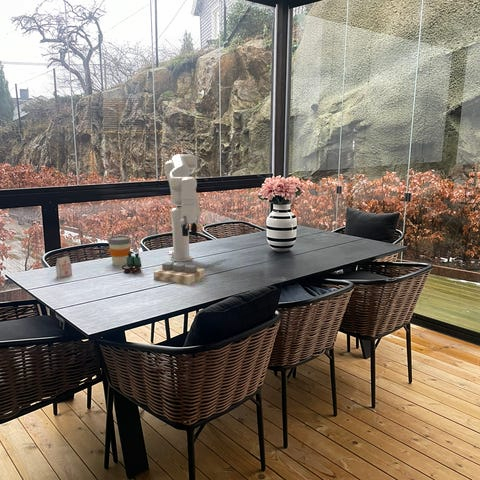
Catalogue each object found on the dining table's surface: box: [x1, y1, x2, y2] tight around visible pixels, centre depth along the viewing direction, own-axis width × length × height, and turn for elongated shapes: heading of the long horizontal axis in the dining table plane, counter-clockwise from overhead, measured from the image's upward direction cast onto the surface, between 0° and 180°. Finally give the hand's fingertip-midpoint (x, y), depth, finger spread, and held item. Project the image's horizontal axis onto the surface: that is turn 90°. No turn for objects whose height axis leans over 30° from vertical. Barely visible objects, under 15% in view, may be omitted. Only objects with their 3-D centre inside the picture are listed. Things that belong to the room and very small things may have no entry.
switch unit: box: [153, 267, 206, 285], centre depth 252 cm, size 21×16×4 cm
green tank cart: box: [121, 251, 143, 275], centre depth 261 cm, size 9×11×10 cm
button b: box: [173, 262, 186, 272], centre depth 251 cm, size 4×4×4 cm
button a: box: [161, 261, 175, 271], centre depth 254 cm, size 4×4×4 cm
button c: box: [185, 264, 198, 274], centre depth 248 cm, size 4×4×4 cm
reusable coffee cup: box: [107, 235, 131, 266], centre depth 281 cm, size 13×12×15 cm
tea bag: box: [55, 256, 73, 279], centre depth 256 cm, size 4×7×10 cm, turn 141°
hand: (189, 234), depth 255 cm, fingers open, 9 cm apart
